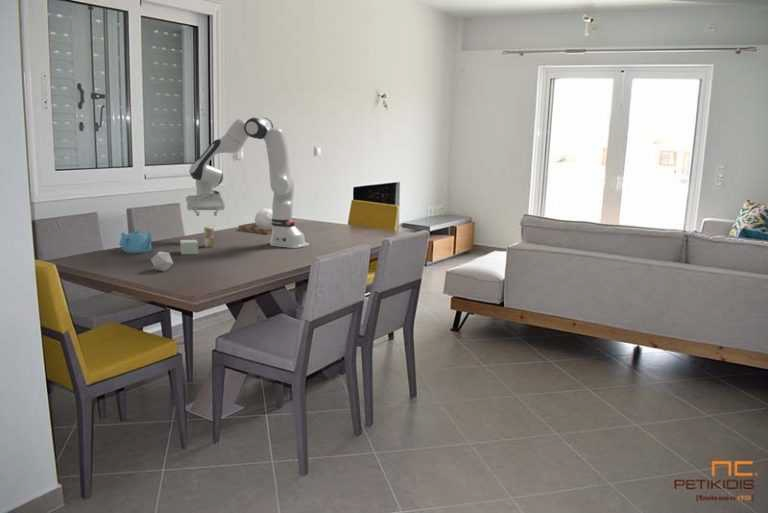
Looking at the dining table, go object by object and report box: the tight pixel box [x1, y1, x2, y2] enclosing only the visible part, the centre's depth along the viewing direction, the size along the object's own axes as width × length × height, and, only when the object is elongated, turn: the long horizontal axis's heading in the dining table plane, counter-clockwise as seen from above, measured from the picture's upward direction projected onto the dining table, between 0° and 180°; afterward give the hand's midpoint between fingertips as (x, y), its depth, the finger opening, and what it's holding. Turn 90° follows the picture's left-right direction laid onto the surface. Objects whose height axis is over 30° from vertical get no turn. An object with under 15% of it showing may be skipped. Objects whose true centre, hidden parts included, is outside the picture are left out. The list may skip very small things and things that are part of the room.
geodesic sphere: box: [254, 207, 272, 229], centre depth 406 cm, size 15×14×14 cm
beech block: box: [203, 226, 215, 248], centre depth 348 cm, size 4×4×10 cm
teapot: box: [119, 229, 153, 255], centre depth 328 cm, size 15×15×11 cm
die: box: [150, 251, 174, 272], centre depth 290 cm, size 8×9×10 cm
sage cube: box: [179, 239, 199, 255], centre depth 330 cm, size 8×8×6 cm
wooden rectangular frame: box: [237, 222, 272, 235], centre depth 406 cm, size 24×24×3 cm
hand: (206, 215), depth 357 cm, fingers open, 8 cm apart
